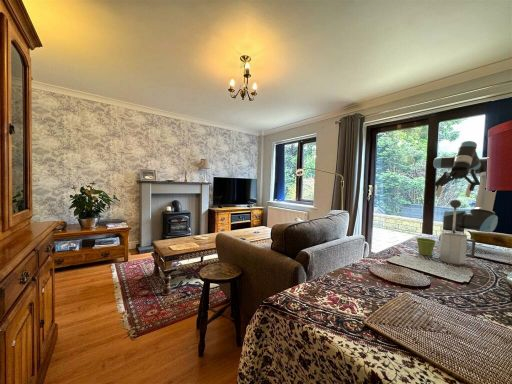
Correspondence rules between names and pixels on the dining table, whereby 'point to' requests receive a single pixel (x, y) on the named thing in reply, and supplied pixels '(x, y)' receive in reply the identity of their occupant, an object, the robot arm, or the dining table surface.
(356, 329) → the dining table surface
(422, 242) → the plant pot
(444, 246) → the press carafe
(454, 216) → the plunger
